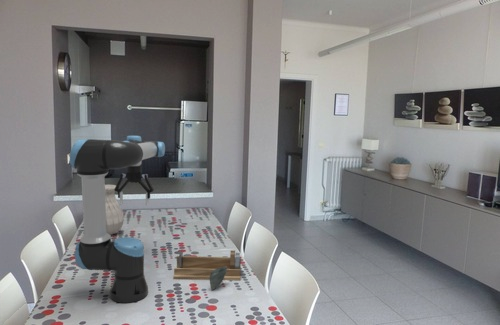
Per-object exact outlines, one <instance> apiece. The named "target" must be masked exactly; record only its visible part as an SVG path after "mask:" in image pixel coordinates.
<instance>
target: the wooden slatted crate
mask: <svg viewBox="0 0 500 325" xmlns="http://www.w3.org/2000/svg"><path fill="white" fill-rule="evenodd" d="M229 254H230V257H229V256H194V255H193V256H191V255H190V256H189V255H187V256H186V255H183V268H179V255H177V256H176V267H174V268H173V280H192V281H193V280H195V281H196V280H198V281H199V280H201V281H204V280H206V281H207V280H208V281H210V280H209V277H210V275H211V273H212V271H213V270H215V269H216V268H219V267H225V266H227V267H228V268H227V270H226V274H225V277H224V279H223V281H241V273H242V271H241V264H242V263H241V262H242V257H240V256H241V255H240V254H241V253H240V252H236V250H230V253H229Z"/></svg>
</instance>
